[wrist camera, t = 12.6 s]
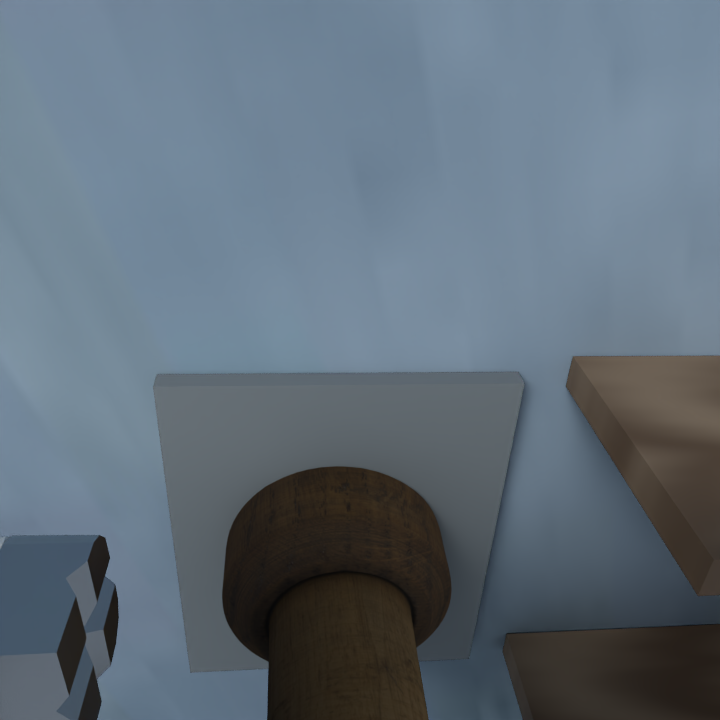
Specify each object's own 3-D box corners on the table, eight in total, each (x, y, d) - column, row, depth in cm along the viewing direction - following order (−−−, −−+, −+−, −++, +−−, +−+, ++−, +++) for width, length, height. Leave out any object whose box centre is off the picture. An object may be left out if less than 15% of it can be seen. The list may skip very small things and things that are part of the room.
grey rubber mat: (192, 657, 25) (190, 672, 24) (157, 374, 18) (153, 386, 18) (465, 644, 25) (468, 658, 25) (518, 371, 19) (524, 383, 19)
